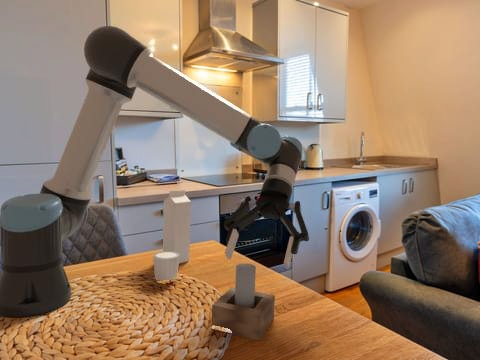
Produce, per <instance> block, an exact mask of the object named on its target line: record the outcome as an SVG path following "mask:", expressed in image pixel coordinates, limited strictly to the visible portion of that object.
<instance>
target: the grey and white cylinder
mask: <svg viewBox="0 0 480 360" xmlns="http://www.w3.org/2000/svg"><path fill="white" fill-rule="evenodd" d="M179 256H180V255H179V253H176V252H172V251H164V252H163V251H159V252H156V253H154V254H153V256H152V257H153V271H154V280H155V279H157V280H160V281H163V280H171V279H173V278H175V277H177V278H178V271H179Z"/></svg>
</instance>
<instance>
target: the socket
mask: <svg viewBox="0 0 480 360" xmlns="http://www.w3.org/2000/svg"><path fill="white" fill-rule="evenodd" d="M275 296H276V295H274V294H268V293H264V292H259V291H255V297H254V309H252V308H247V307H242V306H238V305H235V287H230V288H229V289H228V290H226V291H225V293H223V294H222V295H221V296H220V297H219V298H218V299H217V300H216V301H215V302H214V303H213V304H212V305H211V326H212V325H215V326H220V327H224V328H228V329H230V330H231V331H232V334H231V335H233V336H237V337H242V338H245V339H246V338H247V339H250V340H255V341H257V342H259V341H261V339H262V337H263V336H264V334H265V333H266V331H267V330H268V328H269V326H270V325H271V323H272V322H273V320H274V319H275V318H274V317H275V299H276V297H275Z"/></svg>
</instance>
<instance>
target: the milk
mask: <svg viewBox="0 0 480 360" xmlns="http://www.w3.org/2000/svg"><path fill="white" fill-rule="evenodd" d="M191 207H192V201H191V200H190V199H189V198H188V196H187V195H186V190H185V189H181V190H180V189H179V190H171V191H169V193H168V197H166V198H165V199H164V200H163V210H162V211H163V213H162V215H163V217H162V219H163V221H162V222H163V223H162V252H164V251H172V252H176V253H179V255H180V256H179V264H183V263H186V262H190V255H191V252H190V251H191V250H190V248H191V214H192V213H191V212H192V211H191V210H192V208H191Z"/></svg>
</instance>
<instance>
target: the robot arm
mask: <svg viewBox="0 0 480 360" xmlns="http://www.w3.org/2000/svg"><path fill="white" fill-rule="evenodd" d="M83 51H84V52H83V53H84V58H85V61H86V64H87V65H88V67H89V70H88V72H87V75H86V77H85V80H84V81H85V83H86V85H87V87H88V91H87V93H86V95H85V99H84V100H83V104H82V106H81V108H80V111H79V112H78V116H77V118H76V120H75V123H74V125H73V129H72V130H71V133H70V136H69V138H68V141H67V142H66V146H65V148H64V150H63V152H62V155H61V158H60V159H59V162H58V165H57V167H56V169H55V172H54V175H53V177H52V178H50V179H46V180H45V181H44V182H43V184H42V186H41V189H40V191H39V193H29V194H24V195H17V196H14V197H11V198H9V199H7V200H5V201H4V202H3V203H2V204H1V206H0V260H1V262H0V263H1V264H0V265H1V266H0V267H1V270H0V271H1V272H0V316H2V317H7V318H21V317H22V318H24V317H33V316H38V315H41V314H45V313H48V312H51V311H55V310H56V309H59V308H61V307H62V306H65V304H67V303H68V302H69V301H70V300H71V298H72V286H71V283H70V282H69V278H68V276H67V273H66V270H65V268H64V265H63V242H64V241H65V240H66V239H68V238H69V237H71V236H73V235H74V234H76V233H77V232H79V231H80V229H81V228H82V227H83V226H84V224H85V222H86V221H87V218H88V213H89V211H88V210H89V209H88V206H89V203H90V201H91V198H92V195H91V193H90V191H89V188H90V185H91V182H92V180H93V177H94V175H95V173H96V170H97V168H98V167H99V166H98V165H99V163H100V160H101V159H102V156H103V153H104V150H105V148H106V146H107V144H108V141H109V139H110V136H111V134H112V131H113V129H114V126H115V125H116V121H117V120H118V117H119V115H120V112H121V110H122V107H123V105H124V104H126V103H129V102H131V101H132V99H133V97H134V94H135V92H136V89H137V88H138V89H140V90H141V91H143V92H145V93H147V94H148V95H150V96H151V97H153V98H155V99H157V100H158V101H160V102H162V103H164V104H165V105H167V106H168V107H170V108H172V109H174V110H175V111H178V112H179V113H180V114H183V116H186V117H187V118H189V119H190V120H193V121H194V122H196V123H197V124H199V125H201V126H203V127H204V128H206V129H207V130H210V131H212V132H213V133H214V134H216V135H217V136H220V137H221V138H222V139H223V138H224V139H225V140H227V141H228V142H229V145H231V147H232V148H234V149H235V150H237V151H239V152H242V153H243V154H246V155H247V156H249V157H251V158H253V159H255V160H257V161H259V162H262V163H263V164H265V165H267V166H268V167H267V168H268V169H267V172H266V175H265V177H264V181H263V184H262V187H261V190H260V194H259V197H258V198H257V199H253V198H251V196H250V195H249V196H246V197H245V199H244V201H243V203H242V204H241V205H239V207H238V208H237V209H235V210H234V212H233V213H231V215H230V216H228V217H227V219H226V220H225V221H224V222H223V226H224V229H225V230H226V231H227V235H226V238H225V242H226V244H227V245H226V248H225V250H224V255H225V257H226V259H227V260H230V261H231V260H232V258H233V255H234V252H235V247H236V245H237V242H238V239H239V235H240V234H239V232H240V231H242V230H243V229H245V228H246V227H248V226H249V225H251V224H252V223H254V222H255V221H256V220H257V221H258V220H260V219H261V218H263V219H271V220H277V219H280V221H281V222H282V223H283V226H285V227H286V229H287V231H288V232H289V234H290V235H291V236H289V239H288V243H287V248H286V251H285V252H286V253H285V257H284V260H283V264H284V267H285V269H287V270H290V266H291V262H292V257H293V255H297V254H298V253H299V247H300V243H301V242H309V240H310V236H309V231H308V229H307V226H306V223H305V219H304V217H303V214H302V206H301V202H300V201H299V200H297V201H295V202H292V203H291V202H290V201H291V198H292V193H293V188H294V185H295V181H296V179H297V173H298V169H299V166H300V163H301V161H302V155H303V144H302V143H301V141H300V139H298V138H297V137H294V136H288V135H284V136H281V134H280V132H279V131H278V129H277V128H276V127H275V126H273V125H271V124H270V123H264V122H263V121H260V120H259V119H258V118H256V117H253V116H252V115H250V114H249V113H248V112H246V111H244V110H243V109H240V108H239V107H238V106H236V105H234V104H233V103H232V102H230V101H228V100H226V99H225V98H223V97H221V96H219V95H218V94H216V93H215V92H212V91H211V90H210V89H207V88H206V87H204V86H203V85H201V84H200V83H198V82H196V81H195V80H193V79H191V78H190V77H188V76H187V75H185V74H183V73H182V72H180V71H178V70H177V69H175V68H173V67H172V66H170V65H168V64H167V63H166V62H164V61H162V60H160V59H159V58H157V57H155V56H154V55H153V52H152V49H151V48H150V47H148V46H147V45H145V44H144V43H142V42H140V41H139V40H138V39H136V38H135V37H133V36H132V35H130V34H129V33H128V32H127V31H125V30H123V29H122V28H119V27H116V26H112V25H104V26H99V27H98V28H96V29H94V30H92V32H91V33H89V34H88V36H87V38H86V40H85V43H84V48H83ZM250 210H251V211H250ZM289 210H291V212H292V213H294V214H295V217H296V222H297V224H298V226H299V227H298V228H299V230H300V232H299V231H298V230H297V229H296V227H295V225H294V224H293V222H292V221H291V219H290V218H289V217H288V215H287V213H288V211H289Z"/></svg>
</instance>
